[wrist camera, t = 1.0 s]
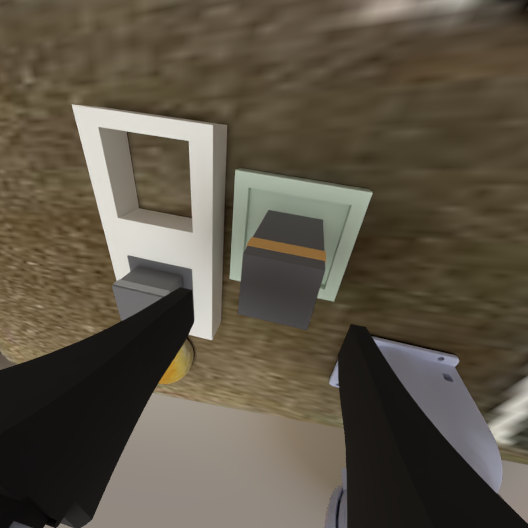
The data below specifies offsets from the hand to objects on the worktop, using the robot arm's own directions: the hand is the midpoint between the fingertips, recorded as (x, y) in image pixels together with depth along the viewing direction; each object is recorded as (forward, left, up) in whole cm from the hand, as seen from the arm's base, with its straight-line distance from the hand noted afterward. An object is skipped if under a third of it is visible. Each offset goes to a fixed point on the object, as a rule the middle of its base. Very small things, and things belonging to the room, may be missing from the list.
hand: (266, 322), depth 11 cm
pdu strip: (+10, +2, -9) cm, 14 cm away
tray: (0, 0, -9) cm, 9 cm away
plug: (0, 0, -9) cm, 9 cm away
